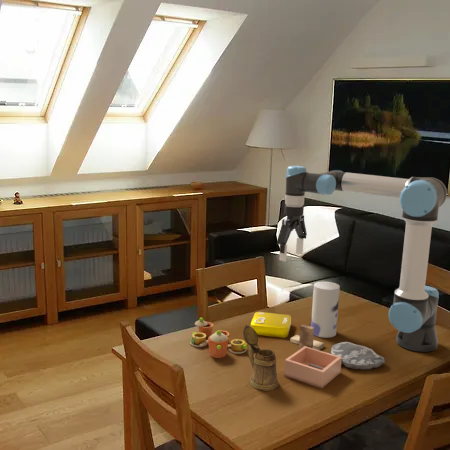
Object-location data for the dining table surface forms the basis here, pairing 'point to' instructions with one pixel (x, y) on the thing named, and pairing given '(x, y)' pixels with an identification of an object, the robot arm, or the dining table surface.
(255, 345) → the wooden mug
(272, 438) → the dining table surface
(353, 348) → the brain slice
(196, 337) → the toy tea set
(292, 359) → the pink open box
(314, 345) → the beige wooden plank
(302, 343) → the tall beige block
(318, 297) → the container
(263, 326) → the element tile
